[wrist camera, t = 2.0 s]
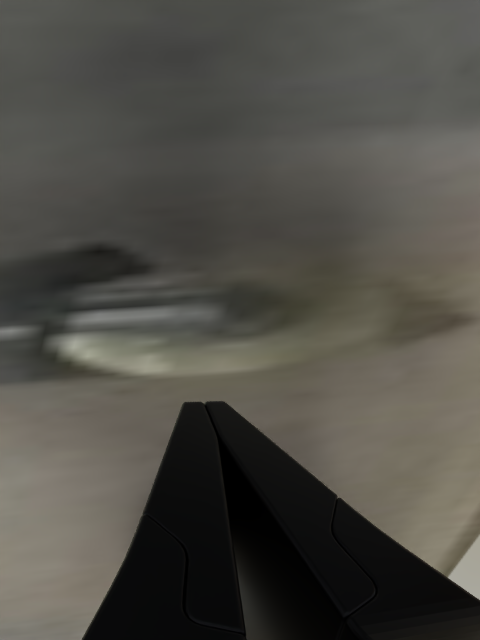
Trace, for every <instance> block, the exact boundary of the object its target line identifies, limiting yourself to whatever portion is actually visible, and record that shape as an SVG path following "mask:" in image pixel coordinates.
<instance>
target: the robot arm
mask: <svg viewBox="0 0 480 640" xmlns="http://www.w3.org/2000/svg"><path fill="white" fill-rule="evenodd" d="M82 640H480V600H479V599H477V598H476V597H474V596H473V595H471V594H470V593H469V592H467V591H466V590H464V589H463V588H461V587H460V586H458V585H457V584H456V583H454V582H453V581H451V580H450V579H449V578H447V577H446V576H444V575H443V574H441V573H440V572H439V571H437V570H436V569H434V568H433V567H431V566H430V565H429V564H427V563H426V562H424V561H423V560H421V559H420V558H419V557H417V556H416V555H414V554H413V553H411V552H410V551H409V550H407V549H406V548H404V547H403V546H402V545H400V544H399V543H397V542H396V541H395V540H393V539H392V538H391V537H389V536H388V535H386V534H385V533H384V532H382V531H381V530H380V529H378V528H377V527H376V526H375V525H373V524H372V523H371V522H369V521H368V520H367V519H366V518H364V517H363V516H362V515H361V514H359V513H358V512H357V511H356V510H354V509H353V508H352V507H351V506H350V505H348V504H347V503H346V502H345V501H344V500H342V499H341V498H338V499H337V495H336V494H335V493H334V492H333V491H331V490H330V489H329V488H328V487H327V486H325V485H324V484H323V483H322V482H321V481H319V480H318V479H317V478H316V477H315V476H313V475H312V474H311V473H310V472H308V471H307V470H306V469H305V468H304V467H302V466H301V465H300V464H299V463H298V462H296V461H295V460H294V459H293V458H292V457H290V456H289V455H288V454H287V453H286V452H284V451H283V450H282V449H281V448H280V447H278V446H277V445H276V444H275V443H274V442H272V441H271V440H270V439H269V438H268V437H266V436H265V435H264V434H263V433H262V432H260V431H259V430H258V429H257V428H256V427H254V426H253V425H252V424H251V423H250V422H248V421H247V420H246V419H245V418H244V417H242V416H241V415H240V414H239V413H238V412H236V411H235V410H234V409H233V408H232V407H230V406H229V405H228V404H227V403H225V402H223V401H210V402H205V403H202V402H184V403H183V404H182V407H181V410H180V412H179V415H178V418H177V421H176V423H175V426H174V429H173V432H172V434H171V437H170V440H169V443H168V445H167V448H166V451H165V454H164V456H163V459H162V462H161V465H160V467H159V470H158V473H157V476H156V478H155V481H154V484H153V487H152V489H151V492H150V495H149V498H148V500H147V503H146V506H145V509H144V511H143V516H141V519H140V522H139V524H138V527H137V530H136V532H135V535H134V537H133V540H132V542H131V545H130V547H129V549H128V552H127V554H126V557H125V559H124V561H123V563H122V565H121V567H120V569H119V571H118V573H117V575H116V577H115V579H114V581H113V583H112V585H111V587H110V589H109V591H108V592H107V594H106V596H105V598H104V600H103V602H102V603H101V605H100V607H99V609H98V611H97V613H96V614H95V616H94V618H93V620H92V622H91V624H90V625H89V627H88V629H87V631H86V633H85V635H84V636H83V638H82Z"/></svg>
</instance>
